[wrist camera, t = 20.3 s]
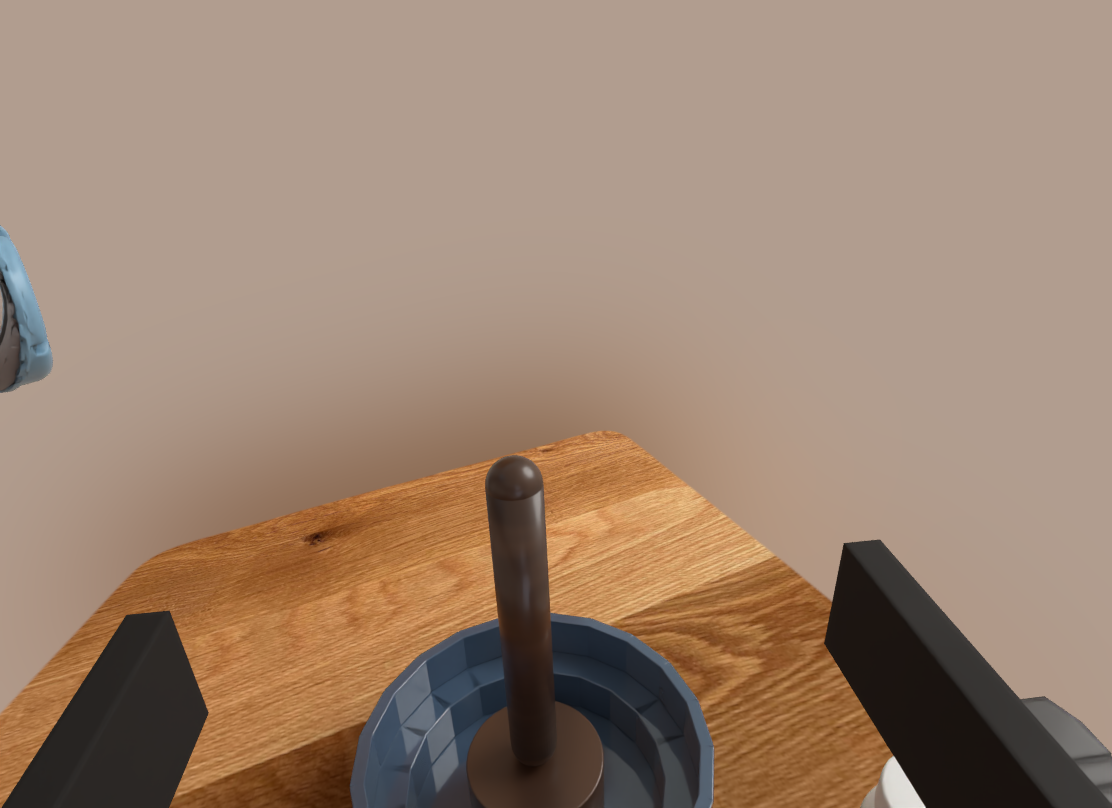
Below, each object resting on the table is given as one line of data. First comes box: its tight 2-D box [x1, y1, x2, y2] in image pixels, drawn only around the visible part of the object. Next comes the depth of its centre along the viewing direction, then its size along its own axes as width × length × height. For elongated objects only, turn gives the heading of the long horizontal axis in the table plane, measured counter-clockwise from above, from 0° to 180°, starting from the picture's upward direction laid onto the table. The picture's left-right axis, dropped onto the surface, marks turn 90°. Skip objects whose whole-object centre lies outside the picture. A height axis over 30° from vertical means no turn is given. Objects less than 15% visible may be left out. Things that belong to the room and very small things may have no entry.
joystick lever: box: [466, 455, 604, 808], centre depth 27 cm, size 6×6×18 cm
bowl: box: [350, 613, 714, 808], centre depth 30 cm, size 15×15×5 cm
